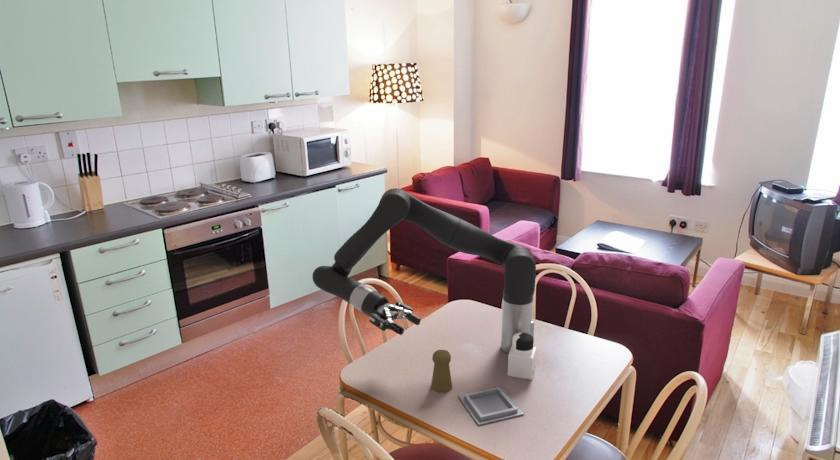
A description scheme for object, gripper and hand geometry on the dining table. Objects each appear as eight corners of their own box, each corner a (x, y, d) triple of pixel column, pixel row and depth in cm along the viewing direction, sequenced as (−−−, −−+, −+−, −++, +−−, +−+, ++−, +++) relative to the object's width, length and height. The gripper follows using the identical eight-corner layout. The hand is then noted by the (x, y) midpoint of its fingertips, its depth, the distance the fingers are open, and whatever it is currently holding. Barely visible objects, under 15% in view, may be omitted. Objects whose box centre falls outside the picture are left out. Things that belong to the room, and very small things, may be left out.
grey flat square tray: (501, 388, 156) (501, 383, 156) (523, 415, 145) (523, 410, 144) (458, 397, 152) (458, 392, 152) (478, 425, 141) (478, 421, 140)
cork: (450, 393, 154) (450, 358, 151) (429, 391, 155) (429, 356, 152) (453, 381, 160) (453, 347, 156) (433, 379, 161) (432, 345, 158)
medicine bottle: (535, 367, 166) (537, 332, 163) (531, 380, 160) (533, 343, 156) (511, 363, 169) (513, 328, 165) (507, 376, 162) (508, 339, 158)
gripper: (355, 297, 158) (400, 324, 151) (385, 284, 170) (428, 308, 163) (350, 319, 161) (394, 346, 154) (380, 304, 173) (421, 329, 166)
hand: (411, 327), depth 159 cm, fingers open, 8 cm apart
